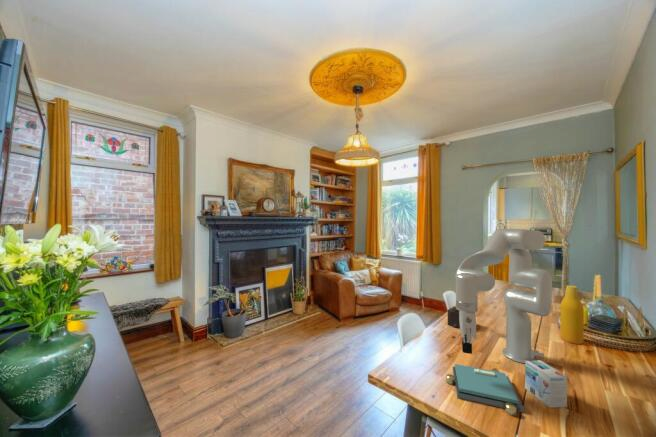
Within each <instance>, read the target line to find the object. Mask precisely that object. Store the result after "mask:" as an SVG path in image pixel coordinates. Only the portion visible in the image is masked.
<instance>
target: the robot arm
mask: <svg viewBox="0 0 656 437" xmlns="http://www.w3.org/2000/svg"><path fill="white" fill-rule="evenodd" d="M545 244H546V237H545V234H544V233H543V232H542V231H540V230H535V229H534V230H533V229H528V228H527V229H525V228H497V229H495V230H494V231H493V233H492V235H490V238H489V240H488V241H487V242H486V243H485V245H484V247H483V249H481V250H480V251H477V252H475V253H473V254H471V255H470V256H467V257H466V258H465V259H464V260H463V261H462V262H461V263H460V265H459V266H458V268H457V269H456V271H455V274H454V276H455V278H454V279H455V307H456V309H457V310H459V322H460V329H459V330H460V334H461V337H462V341H461V349H462V353H463V354H471V355H472V354H473V342H472V341H473V339H474V340H477V338H478V336H477V335H478V334H477V321H476V320H477V319H476V318H477V317H476V313H477V312H478V311H479V308H478V306H479V305H478V304H479V303H478V301H479V300H478V296H479V295H478V294H479V293H478V292H489V291H491V290H493V288H495V285H496V280H495V277H494V276H493V274H491V273H489V272H487V271H481V270H477V269H479V268H484V267H490V266H494V265H499V264H501V263H502V262H504V260H505V259H506V256H507V255H508V257H509V258H508V259H509V265H508V281H509V283H510V284H511V285H512V286H514V287H515V286H516V287H520V288H524V289H529V290H534V291H535V292H533V291H528V290H523V289H520V288H508V289H507V290H505V292H504V294H503V300H504V305H505V312H506V321H505V322H506V326H505V327H506V333H505V334H506V335H505V338H506V341H505V342H506V344H505V345H506V346H505V348H503V349H502V350H501V352H502V355H503V356H504V357H506V358H507V359H509V360H512V361H514V362H517V363H522V364H525V363H526V361H537V360H536V357H537V358H543V359H544V358H545V354H544V353H543V352H540V351H538V350H535V349H532V320H531V317H530V316H529V314H532V315H535V316H540V317H547V316H549V315H550V314H551V310H552V297H553V296H552V295H553V278H552V275H551V274H550V272H549V271H547V270H545V269H541V268H534V267H533V266H532V255H531V253H530V252H529V251H539V250H542V248H544V246H545ZM472 338H473V339H472Z"/></svg>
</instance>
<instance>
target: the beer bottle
mask: <svg viewBox="0 0 656 437" xmlns="http://www.w3.org/2000/svg"><path fill="white" fill-rule="evenodd" d="M561 300H562V301H561V302H560V307H559V308H560V316H559V318H560V319H559V320H560V321H559V322H560V328H559V329H560V332H559V337H560V339H561V340H563V341H565V342H567V343H569V344H575V345H583V344H584V342H585V341H584V336H585V334H584V332H585V331H584V321H585V320H584V316H585V314H584V313H585V312H584V311H585V309H584V305H583V303H582V302H581V300H580V296H579V291H578V286H576V285H570V284H569V285H568V284H567V285H566V288H565V294H564V297H563V298H562V299H561Z"/></svg>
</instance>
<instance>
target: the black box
mask: <svg viewBox="0 0 656 437" xmlns="http://www.w3.org/2000/svg"><path fill="white" fill-rule="evenodd" d="M448 325H449V327H451V328H455V329H459V330H460V322H459V310H457V309H456V306H452V307H450V308H447V326H448Z"/></svg>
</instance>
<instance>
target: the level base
mask: <svg viewBox="0 0 656 437" xmlns="http://www.w3.org/2000/svg"><path fill="white" fill-rule="evenodd" d="M490 370H491V371H496V372H500V371H499V370H497V369H494V368H492V369H490ZM506 377H507V379H508V381H509V383H510V385H511V387H512V389H513V391H514V393H515V395H516V397H517V399H518V404H515V403H511V402H506V401H501V400H497V399H492V398H487V397H483V396H478V395H474V394H469V393H464V392H460V391H459V387H458V381H457V376H456V371H455V366H452V374H450V373H449V374H448V373H447V374H446V377H445V378H446V379H445V383H446V384H448V385H450V386H454V387H455V392H456V398H457V399H459V400H465V401H469V402H474V403H478V404H483V405H486V406H490V407H491V406H492V407H495V408H496V407H497V408H501V409H505V410H504V411H505V413H506V414H507V415H508V416H511V417H516V416H517V412H519V413H524V405H523V403H522V401H521V399H520V398H519V395H518V393H517V391H516V389H515V388H514V385H513V384H512V382H511V380H510V377H509V376H507V375H506Z"/></svg>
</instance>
